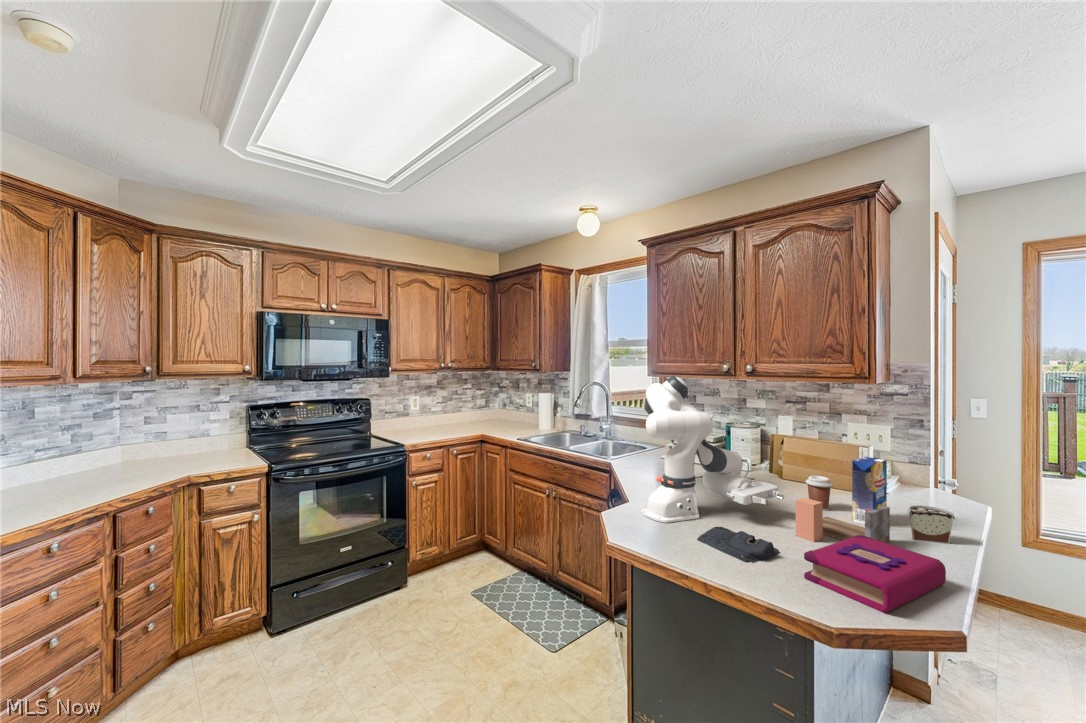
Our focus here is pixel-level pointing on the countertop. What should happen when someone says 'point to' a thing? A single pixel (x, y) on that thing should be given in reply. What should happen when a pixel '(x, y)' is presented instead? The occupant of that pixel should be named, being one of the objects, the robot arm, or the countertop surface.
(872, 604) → the book
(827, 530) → the walnut shelf
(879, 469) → the beverage box
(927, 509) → the food container
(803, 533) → the salmon pink brick
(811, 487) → the coffee cup
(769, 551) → the folded black shirt
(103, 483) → the countertop surface
